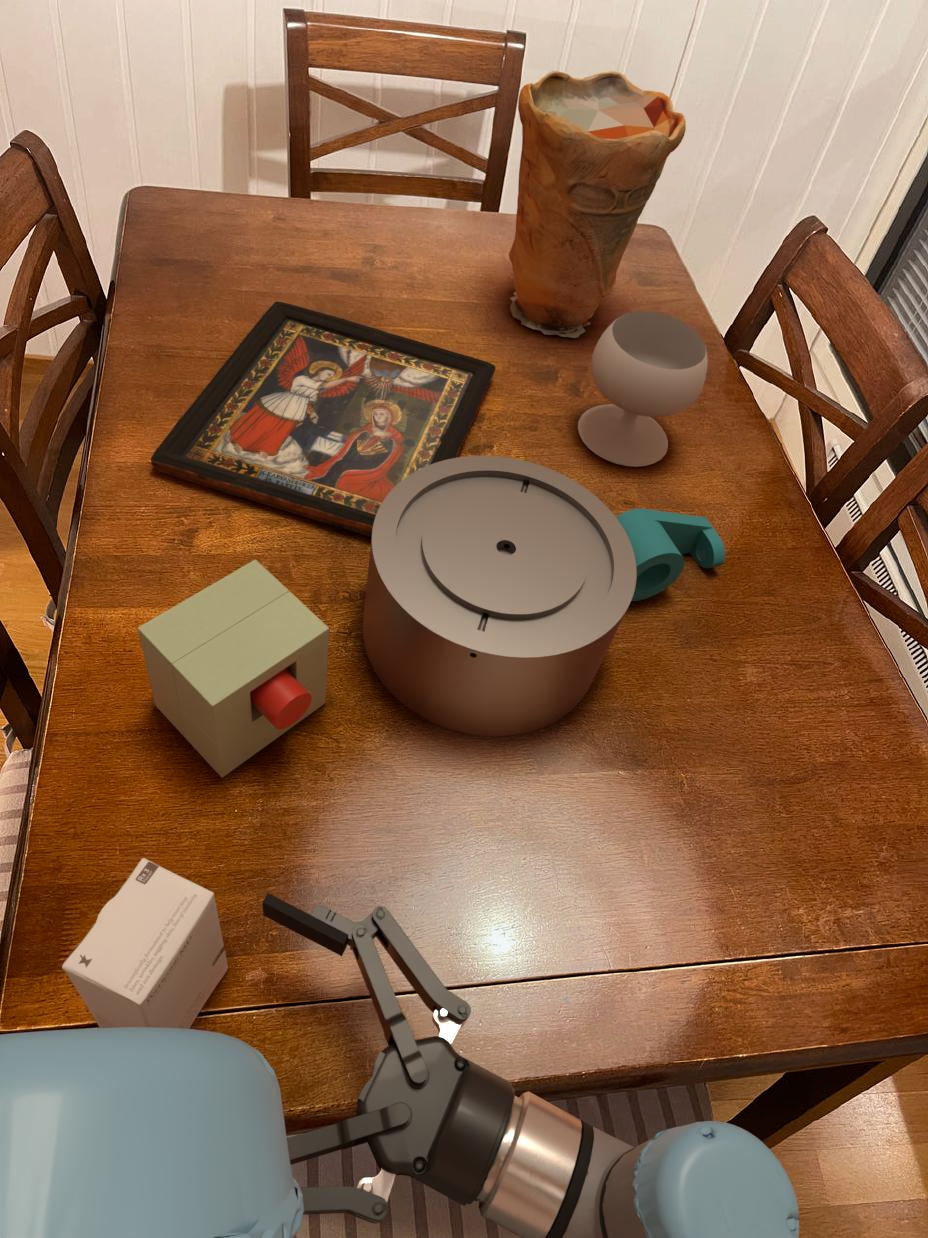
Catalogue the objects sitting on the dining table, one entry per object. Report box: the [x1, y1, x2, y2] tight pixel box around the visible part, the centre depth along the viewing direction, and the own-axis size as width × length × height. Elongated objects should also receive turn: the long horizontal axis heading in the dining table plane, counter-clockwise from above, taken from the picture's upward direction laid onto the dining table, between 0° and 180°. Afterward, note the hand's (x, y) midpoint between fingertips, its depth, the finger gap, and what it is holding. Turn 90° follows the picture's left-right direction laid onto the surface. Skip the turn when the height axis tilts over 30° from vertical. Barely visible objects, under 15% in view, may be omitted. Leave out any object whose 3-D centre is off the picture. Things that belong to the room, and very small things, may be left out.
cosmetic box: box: [61, 857, 229, 1029], centre depth 61 cm, size 8×6×15 cm
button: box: [250, 669, 312, 729], centre depth 75 cm, size 6×4×4 cm
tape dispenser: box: [615, 508, 726, 602], centre depth 99 cm, size 7×15×8 cm, turn 111°
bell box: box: [137, 559, 330, 779], centre depth 79 cm, size 10×12×12 cm
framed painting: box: [150, 301, 496, 538], centre depth 108 cm, size 38×35×3 cm
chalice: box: [577, 310, 709, 468], centre depth 110 cm, size 14×14×15 cm
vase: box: [508, 70, 687, 339], centre depth 121 cm, size 21×20×30 cm
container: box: [362, 455, 637, 737], centre depth 88 cm, size 25×25×13 cm
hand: (210, 992), depth 60 cm, fingers open, 13 cm apart
